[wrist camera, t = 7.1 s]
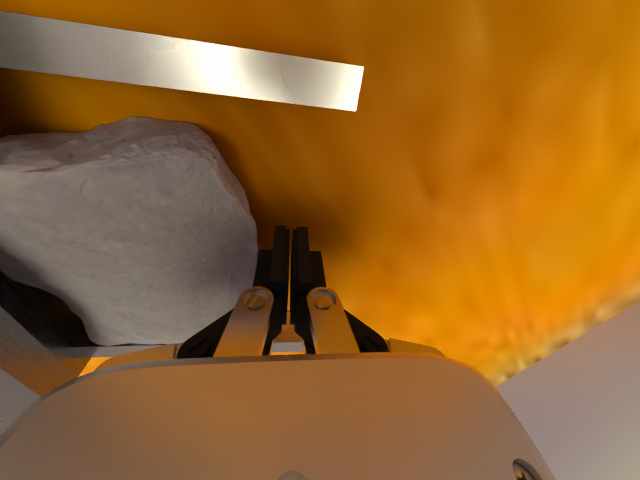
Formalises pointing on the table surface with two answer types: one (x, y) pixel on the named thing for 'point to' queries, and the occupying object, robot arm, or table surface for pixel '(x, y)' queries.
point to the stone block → (127, 227)
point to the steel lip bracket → (143, 69)
